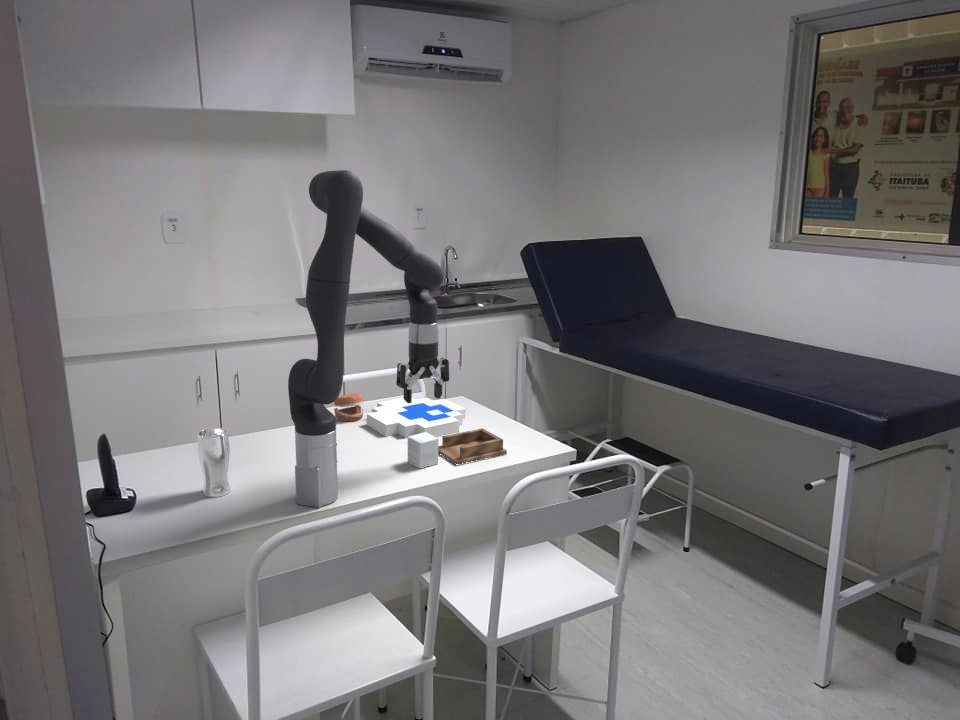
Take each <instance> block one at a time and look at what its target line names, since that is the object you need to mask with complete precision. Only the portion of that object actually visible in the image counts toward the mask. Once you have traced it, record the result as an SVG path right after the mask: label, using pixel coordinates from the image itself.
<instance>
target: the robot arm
mask: <svg viewBox="0 0 960 720" xmlns="http://www.w3.org/2000/svg"><path fill="white" fill-rule="evenodd" d="M308 193H309V194H308V195H309V199H310V201H311V202H312V204H313V205H314V206H315V207H316V208H317V209H318V210H320V211H321V212H323V213H324V214H326V222H325V229H324V233H323V238H322V240H321V243H320V246H318V249H317V250H316V252H315V255H314V257H313V259H312V261H311V263H310V266H309V269H308V272H307V273H308V274H307V280H306V290H305V304H306V308H307V312H308V314H309V317H310V321H311V323H312V326H313V328H314V331H315V334H316V340H317V341H316V342H317V353H316V359H311V358H302V359H299V360H297V361H296V362H295V363H294V364H292V366H291V369H290V371H289V375H288V381H287V387H288V388H287V389H288V400H289V412H290V416H291V420H292V421H293V424H294V435H295V436H294V439H295V440H294V441H295V442H294V443H295V465H294V477H295V478H294V481H295V500H296V501H295V502H296V505H300V506H301V505H303V506H308V507H312V508H313V507H315V508H319V509H320V508H321V507H323V506H326V505H327V506H328V505H330V504H332V503H334V502H336V501H337V499H338V497H339V495H338V494H339V493H338V490H339V489H338V462H337V461H338V456H337V455H338V452H337V446H336V443H337V419H336V415H335V414H333V412H331V411H330V410H329V409H328V408H327V407H326V406H325V405H331V404H332V403H333V404H334V401H335V400H336V399H337V398H338V396H340V393H341V391H342V388H343V383H344V356H345V355H344V354H345V353H344V351H345V350H344V347H345V339H344V338H345V328H346V318H347V317H346V316H347V309H348V301H349V300H348V299H349V294H350V283H351V273H352V272H351V271H352V264H353V263H352V262H353V256H354V246H355V239H356V235H357V236H358V237H359V238H361V239H362V240H363V241H365V242H366V243H367V245H369V246H370V247H372V248H373V250H375V251H376V252H377V253H378V254H379V255H380V256H381V257H382V258H384V259H385V260H386V261H387V262H388V263H389V264H390V265H392V266H393V268H395V269H398V270H401V271H402V272H404V273H403V282H404V287H405V288H404V289H405V291H406V296H407V300H408V304H409V326H408V336H407V337H408V358H409V359H408V360H409V361H408V363H398V364H397V367H396V383H395V384H396V386H397V387H398V388H401V389H403V398H404V400H405V401H406V402H407V403H412V398H413V394H412V391H413V390H412V387H413V386H414V385H415V384H416V383H417V382H418V381H419V380H423V379H430V378H432V380H433V381H434V383H433V384H434V385H433V397H434V398H436V399H437V400H440V399H442V398H441V397H442V396H443V384H444V383H445V382H449V381H450V363H449V360H448V359H447V358H446V357H440V359H438V357H439V325H438V317H439V316H438V313H439V312H438V311H439V309H438V302H437V301H436V299H435V298H433V297H432V296H431V295H430V291H434V290H437V289H439V288H440V287H441V286H442V284H443V283H444V279H445V274H444V271H443V268H442V266H441V265H440V264H439V263H438V262H437V261H436V260H435V259H434V258H432V257H431V256H430V255H428V254H426V253H425V252H423V251H422V250H420V249H419V248H417V247H416V246H415V245H414V244H413V243H412V242H411V241H410V240H409V239H408V238H407V237H406V236H404V234H402V233H401V232H400V231H399V230H398V229H397V228H396V227H394V226H392V224H390V223H388V222H386V221H385V220H383V219H381V218H380V217H378V216H376V215H374V214H373V213H372V212H370V211H369V210H367V209H366V208H365V207H363V201H364V188H363V184H362V181H361V179H360V177H359V176H358V175H357V174H356V173H355V172H353V171H351V170H346V169H345V170H344V169H342V170H341V169H340V170H326V171H321V172H320V173H319V172H318V173H317V174H315V175H314V176H313V178H312V179H311V180H310V182H309V185H308ZM438 367H439V368H440V374H439V373H438V371H437V368H438ZM408 371H409V372H408ZM407 373H408V374H407ZM406 374H407V375H406Z"/></svg>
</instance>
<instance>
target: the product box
mask: <svg viewBox="0 0 960 720" xmlns="http://www.w3.org/2000/svg"><path fill="white" fill-rule="evenodd" d="M438 446H439V437H434V436H432V435H430V434H428V433H426V432H424V433H420V434H416V435H412V436H409V437H408V438H407V463H408V464H411V465H413V466H414V467H417V468H418V469H419V470H420V469H421V468H422V469H425V468H428V467H427V466H429V467H432V466H435V465H434V464H436V465H438V464H439V453H438ZM437 463H438V464H437ZM431 465H432V466H431ZM424 467H425V468H424Z"/></svg>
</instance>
